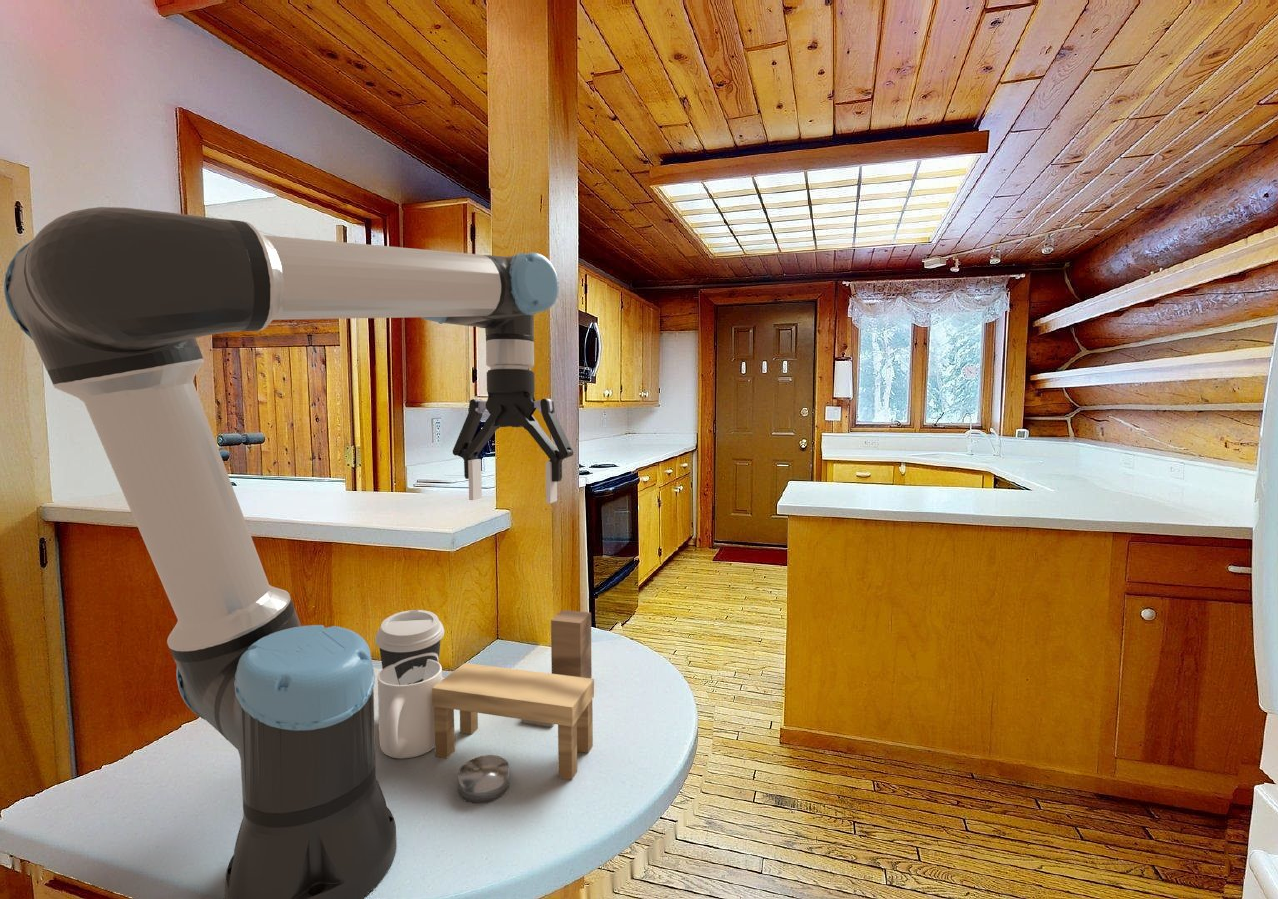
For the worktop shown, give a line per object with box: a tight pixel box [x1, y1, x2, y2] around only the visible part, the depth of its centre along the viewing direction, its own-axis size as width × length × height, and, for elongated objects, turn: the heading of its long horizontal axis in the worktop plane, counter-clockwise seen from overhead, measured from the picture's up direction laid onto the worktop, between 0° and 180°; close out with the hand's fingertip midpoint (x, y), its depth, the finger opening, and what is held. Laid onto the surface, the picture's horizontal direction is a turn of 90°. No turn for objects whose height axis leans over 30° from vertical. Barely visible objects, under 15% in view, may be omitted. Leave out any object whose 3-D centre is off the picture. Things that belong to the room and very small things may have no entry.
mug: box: [377, 659, 443, 760], centre depth 80 cm, size 12×8×10 cm
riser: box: [432, 662, 595, 781], centre depth 80 cm, size 8×20×10 cm, turn 75°
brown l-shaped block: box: [521, 609, 593, 728], centre depth 94 cm, size 17×5×12 cm, turn 165°
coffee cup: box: [374, 609, 445, 685], centre depth 88 cm, size 10×10×15 cm
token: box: [458, 754, 510, 805], centre depth 72 cm, size 6×6×2 cm
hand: (512, 500), depth 95 cm, fingers open, 13 cm apart
